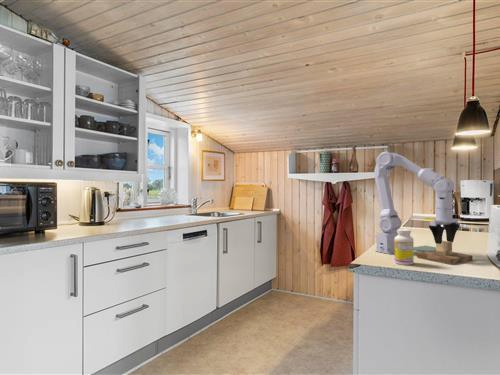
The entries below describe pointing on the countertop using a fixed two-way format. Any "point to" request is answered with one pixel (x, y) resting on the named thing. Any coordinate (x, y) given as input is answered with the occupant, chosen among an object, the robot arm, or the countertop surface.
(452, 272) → the countertop surface
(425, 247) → the rubber mat
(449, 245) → the maple block
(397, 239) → the supplement bottle
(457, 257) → the pocket plate
